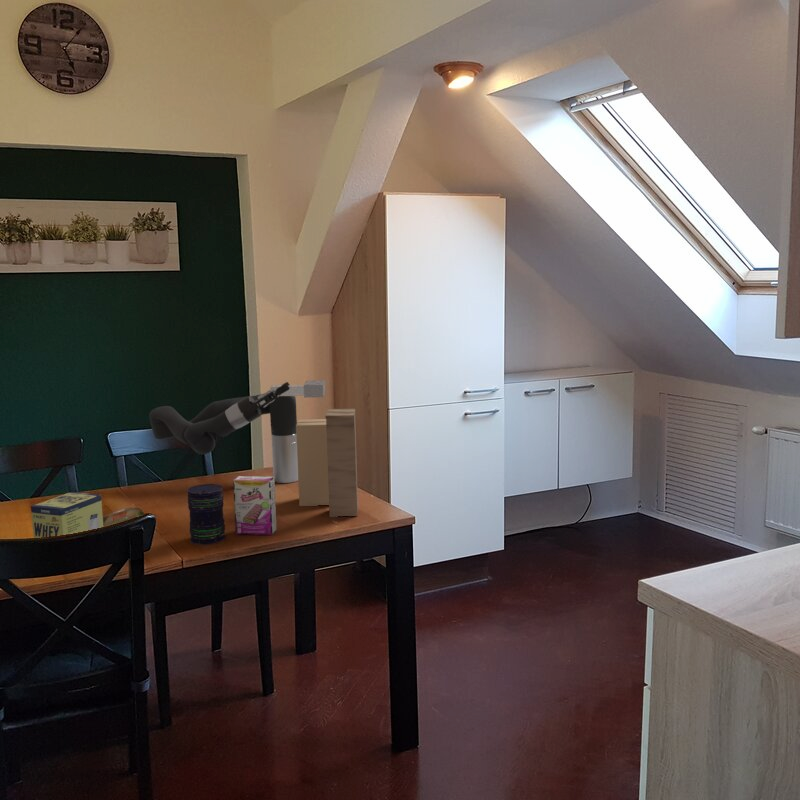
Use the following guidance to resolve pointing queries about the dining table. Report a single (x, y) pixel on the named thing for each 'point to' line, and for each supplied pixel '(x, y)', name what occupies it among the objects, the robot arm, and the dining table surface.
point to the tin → (122, 516)
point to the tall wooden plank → (342, 462)
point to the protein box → (67, 515)
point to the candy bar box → (254, 505)
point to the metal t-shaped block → (304, 389)
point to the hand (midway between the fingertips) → (288, 385)
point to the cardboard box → (312, 462)
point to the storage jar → (206, 514)
